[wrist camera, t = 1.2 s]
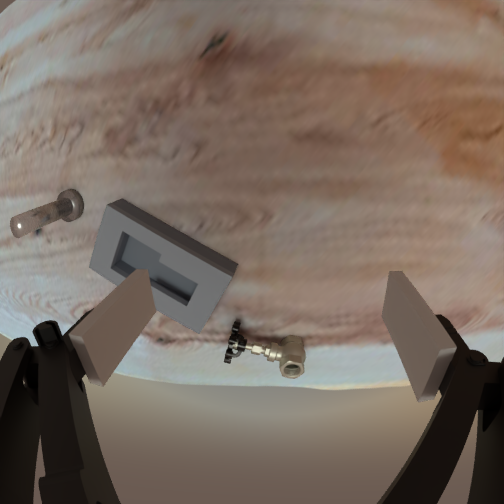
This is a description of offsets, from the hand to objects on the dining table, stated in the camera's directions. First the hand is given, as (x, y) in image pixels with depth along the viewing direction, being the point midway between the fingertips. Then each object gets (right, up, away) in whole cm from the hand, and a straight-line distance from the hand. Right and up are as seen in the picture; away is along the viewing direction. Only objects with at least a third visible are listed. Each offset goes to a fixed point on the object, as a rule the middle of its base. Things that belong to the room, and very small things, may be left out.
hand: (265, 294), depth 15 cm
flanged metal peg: (-31, +10, +27) cm, 42 cm away
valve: (+2, -12, +31) cm, 33 cm away
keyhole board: (-14, +1, +28) cm, 31 cm away
